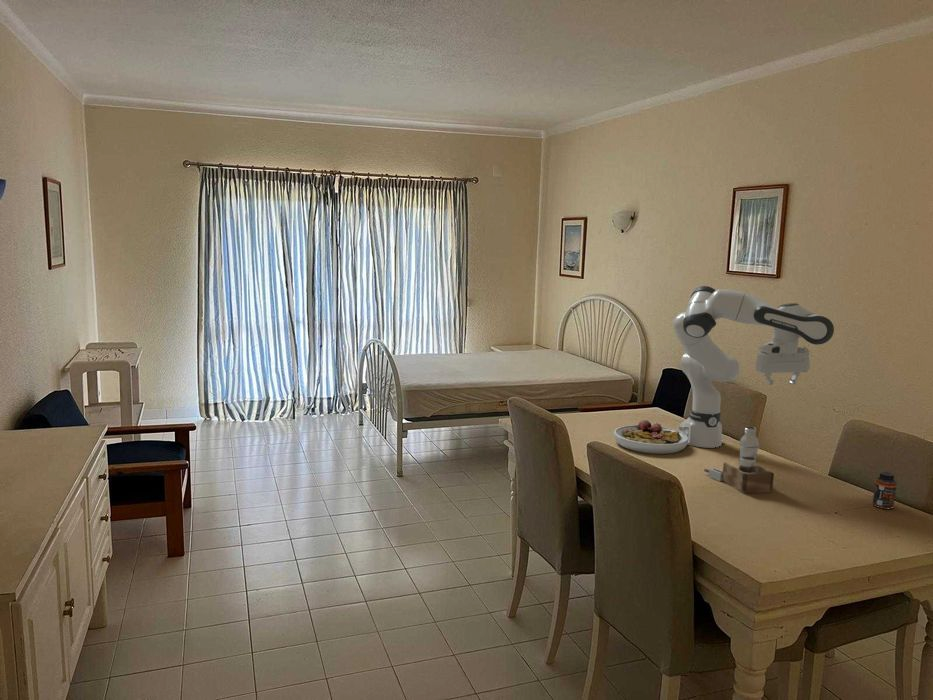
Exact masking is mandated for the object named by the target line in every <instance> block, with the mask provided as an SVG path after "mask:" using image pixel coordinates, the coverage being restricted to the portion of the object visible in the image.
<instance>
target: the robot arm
mask: <svg viewBox="0 0 933 700" xmlns="http://www.w3.org/2000/svg"><path fill="white" fill-rule="evenodd" d="M718 319H727V320H730V321H733V322H737V323H741V324H745V325H746V324H747V325H755V326H767V327H772V328H773V334H772V338H771V341H769V342H766V343H764V344H760V345H759V346H758V351H759V353H757V356H756V361H755V370H756V371H757V372H758V373H761V374H764V377H765V378H766V384H767V385H768V386H769V385H770V386H772V385H774V379H772V377H771V376H772V374H776V373H777V374H778V373H781V374H783V373H784V374H785V373H792V377H791V378H789V384H790V385H796V384H797V379H798V378H799V376H800V373H808V371H809V370H810V349H808V348H807V346H802V347H801V346H799V339H800V338H802V339H804V340H805V341H806V342H808V343H810V344H812V345H817V346H819V345H823V344H825V343H827V342H829V341H830V340H831V339H832V337H833V336H834V333H835V327H834V323H833V322H832V321H831V320H830V318H828V317H825V316H822V315H821V314H818V313H816V312H814V311H813V312H812V311H811V310H808V309H806V308H805V307H803V306H802V305H800V304H799V303H798V302H797V303H796V302H795V303H790V302H789V303H783V304H781V305H779V306H778V307H777V308H776V307H774V306H772V305H771V304H770V303H768V302H766V301H765V300H764V299H763V298H760V297H758V296H756V295H752V294H751V293H747V292H743V291H738V290H735V289H734V290H733V289H727V288H723V289H722V288H719V289H715V288H713V287H712V286H708V285H704V286H703V285H702V286H698V287H696V288H695V289H694V290H693V292H692V294H691V296H690V298H689V301H688V304H687V306H686V310H685V311H683V312H680V313H678V314H677V315H676V316H675V317H674V319H673V329H674V331H675V335H676V337H677V339H678V341H679V344H680V345H681V346H682V348H683V349H684V351H685V353H683V355H682V356H681V358H680V362H679V365H680V369H681V371H682V372H683V373H684V374H685V376H686V377H687V379H688V380H689V381H688V382H690V385H691V386H690V387H691V390H692V406H691V407H692V409H690V410H689V412H688V413H689V416H688V418H686V419H685V420H683V421H682V422H681V423H680V425H679V428H678V429H679V430H678V431H680V432H682V433H684V434H686V435H687V436H688V443H687V445H686V446H693V447H696V448H697V447H698V448H707V449H708V448H709V449H713V448H715V447H716V448H719V446H720V447H721V446H722V443H723V444H725V441H724V439H723V427H722V426H723V425H722V423H721V422H720V421H721V419H722V418H721V417H722V415H721V413H722V412H721V399H722V396H721V395H722V394H721V393H720V391H719V390H718V389H717V388H716V387H715V386H714V384H713V382H712V381H716V382H724V383H725V382H727V383H728V382H734V380H736V379H738V378H737V377H739V374H740V370H741V367H740V363H739V361H738V359H735V358H734V357H732V356H730V355H729V354H727V353H726V352H725V351H724V350H722V349H721V348H720V347H719V346H717V344H716V343H714V341H713V340H712V338H711V337H710V335H709V333H710V332H711V331H712V330H713V328H714V327H715V326H716V325H717V320H718Z"/></svg>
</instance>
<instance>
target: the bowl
mask: <svg viewBox="0 0 933 700" xmlns="http://www.w3.org/2000/svg"><path fill="white" fill-rule="evenodd" d="M651 423H652V422H650V421H649V420H648V419H647V420H645V419H644V420H641V421H640V422H638V424H633V425H624V426H620V427H617V428H615V429H614V432H613V437H614V440H615V441H616V442H617V444H618V445H620V446H621V447H623V448H625V449H628V450H630V451H633V452H639V453H643V454H651V455H652V454H653V455H666V454H674V453H677V452H680V451H683V449H685V448H686V447H687V446H688V445H687V443H688V436H687V435H686V434H684V433H682V432H680V431H679V430H677V429H673V428H670V427H669V428H668V427H664V426H662V425H661V424H660V423H654V424H653V425H652V424H651Z"/></svg>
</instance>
